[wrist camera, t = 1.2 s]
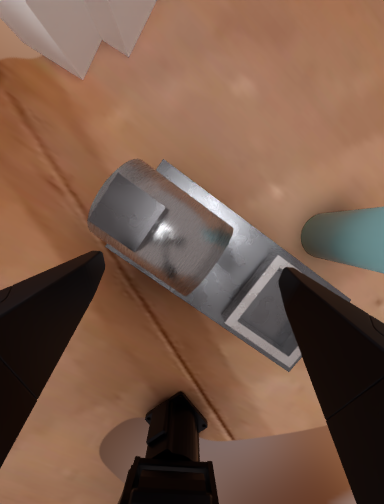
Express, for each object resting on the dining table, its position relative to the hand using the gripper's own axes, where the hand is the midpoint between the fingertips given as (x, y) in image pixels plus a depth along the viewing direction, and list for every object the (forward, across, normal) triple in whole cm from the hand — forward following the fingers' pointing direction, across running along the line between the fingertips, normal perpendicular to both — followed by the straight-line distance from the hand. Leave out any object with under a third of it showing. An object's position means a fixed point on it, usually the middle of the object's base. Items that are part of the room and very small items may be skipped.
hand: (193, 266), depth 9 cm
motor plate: (+12, -5, +9) cm, 15 cm away
